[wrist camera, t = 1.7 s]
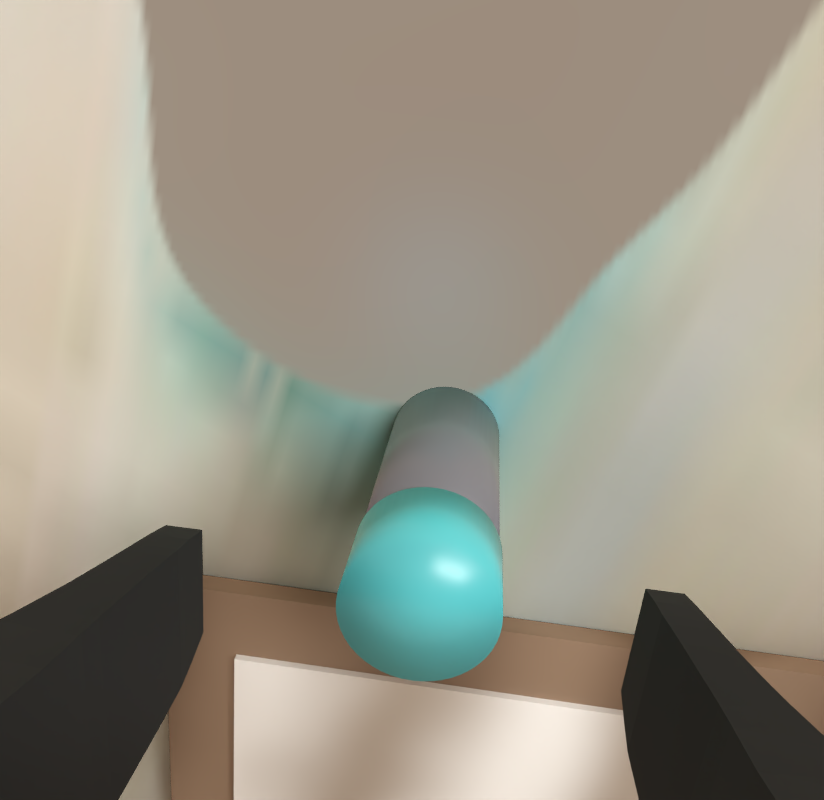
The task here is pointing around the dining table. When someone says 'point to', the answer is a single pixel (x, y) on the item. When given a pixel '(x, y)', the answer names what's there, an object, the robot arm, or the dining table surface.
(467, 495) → the marker
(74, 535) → the dining table surface
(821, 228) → the dining table surface
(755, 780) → the robot arm
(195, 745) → the drawing pad
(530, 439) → the dining table surface
